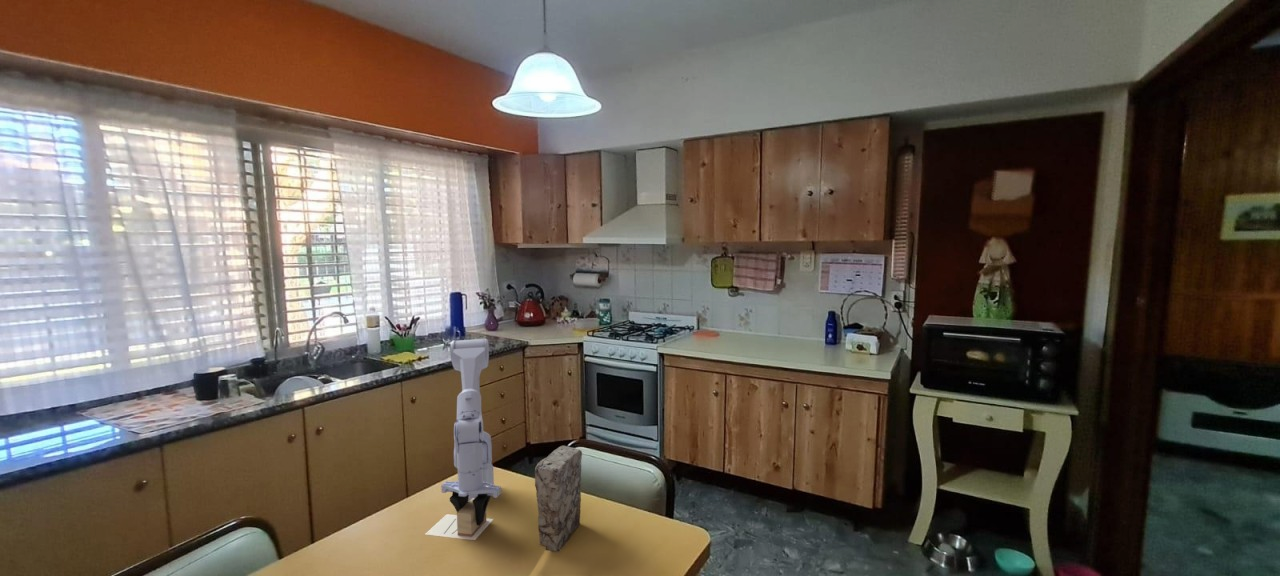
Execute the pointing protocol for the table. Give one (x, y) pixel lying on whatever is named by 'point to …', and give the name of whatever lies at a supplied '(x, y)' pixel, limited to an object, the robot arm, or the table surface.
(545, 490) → the stone block
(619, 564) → the table surface
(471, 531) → the block
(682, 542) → the table surface
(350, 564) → the table surface
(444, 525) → the board
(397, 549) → the table surface
